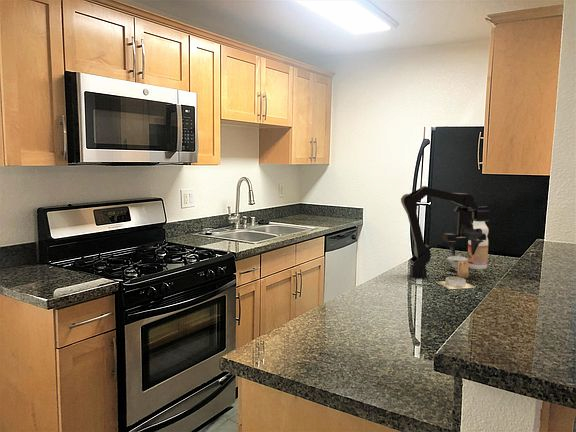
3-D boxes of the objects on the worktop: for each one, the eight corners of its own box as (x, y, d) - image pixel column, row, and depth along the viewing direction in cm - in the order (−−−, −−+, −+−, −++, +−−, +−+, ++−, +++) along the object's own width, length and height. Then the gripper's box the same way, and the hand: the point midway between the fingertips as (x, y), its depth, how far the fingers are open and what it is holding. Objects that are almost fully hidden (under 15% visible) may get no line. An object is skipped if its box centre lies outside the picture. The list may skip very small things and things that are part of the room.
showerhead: (469, 255, 229) (466, 258, 220) (468, 269, 230) (466, 273, 221) (449, 253, 234) (446, 257, 225) (448, 267, 234) (445, 271, 226)
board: (449, 291, 191) (449, 289, 191) (435, 283, 203) (435, 281, 203) (476, 290, 193) (476, 287, 193) (461, 282, 205) (461, 280, 205)
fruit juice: (481, 270, 227) (483, 214, 224) (463, 267, 234) (465, 212, 231) (490, 267, 233) (493, 212, 230) (473, 264, 240) (475, 211, 237)
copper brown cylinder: (460, 280, 209) (461, 263, 208) (455, 278, 213) (456, 261, 212) (469, 280, 209) (470, 262, 208) (464, 277, 214) (465, 260, 213)
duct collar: (451, 287, 194) (451, 281, 193) (442, 282, 201) (443, 277, 201) (468, 286, 195) (468, 280, 194) (459, 281, 202) (459, 276, 202)
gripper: (454, 224, 199) (452, 259, 201) (494, 223, 202) (492, 258, 203) (441, 221, 210) (440, 254, 212) (480, 220, 213) (478, 253, 214)
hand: (463, 255), depth 210 cm, fingers open, 9 cm apart
